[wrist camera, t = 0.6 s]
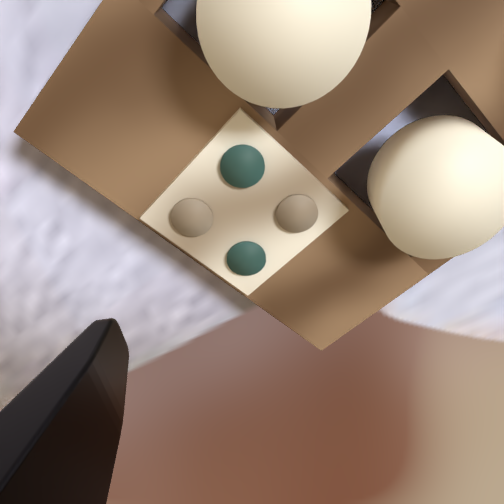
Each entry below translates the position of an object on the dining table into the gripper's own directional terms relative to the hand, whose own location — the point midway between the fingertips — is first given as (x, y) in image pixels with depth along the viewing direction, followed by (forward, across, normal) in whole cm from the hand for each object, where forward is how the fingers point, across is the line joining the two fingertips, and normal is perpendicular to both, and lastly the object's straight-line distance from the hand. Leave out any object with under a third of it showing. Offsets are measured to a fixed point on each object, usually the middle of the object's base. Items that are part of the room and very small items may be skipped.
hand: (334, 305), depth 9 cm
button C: (+10, -6, +3) cm, 12 cm away
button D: (+10, 0, -4) cm, 11 cm away
